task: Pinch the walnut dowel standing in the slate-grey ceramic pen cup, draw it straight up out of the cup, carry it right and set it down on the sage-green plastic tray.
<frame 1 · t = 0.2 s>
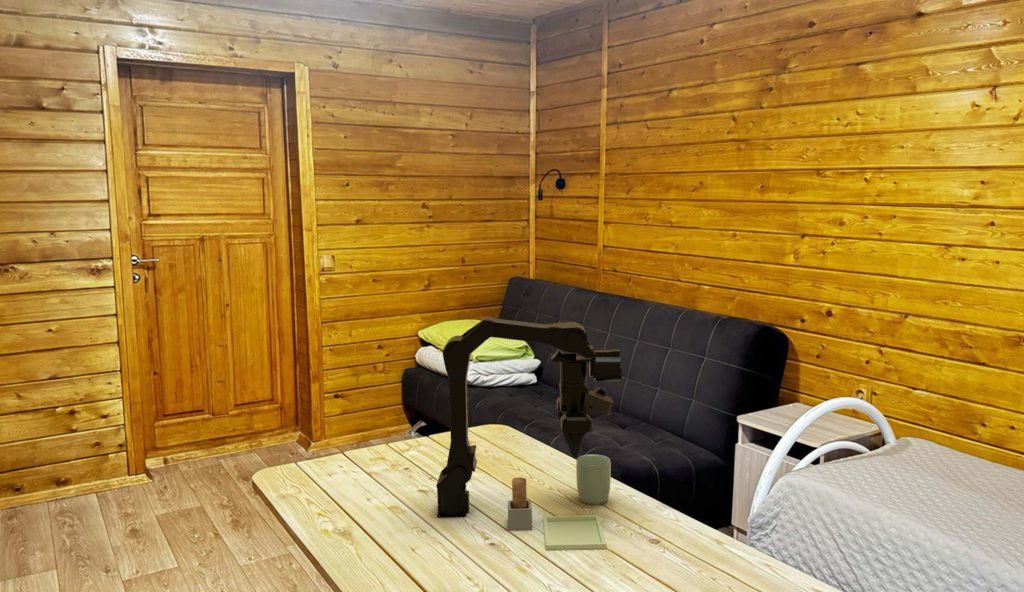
hand: (573, 450, 173), 14 cm above the table, fingers open, 9 cm apart
pen cup: (520, 527, 168), on the table
cup: (593, 502, 181), on the table
dowel: (520, 525, 168), resting on pen cup
tray: (573, 536, 163), on the table
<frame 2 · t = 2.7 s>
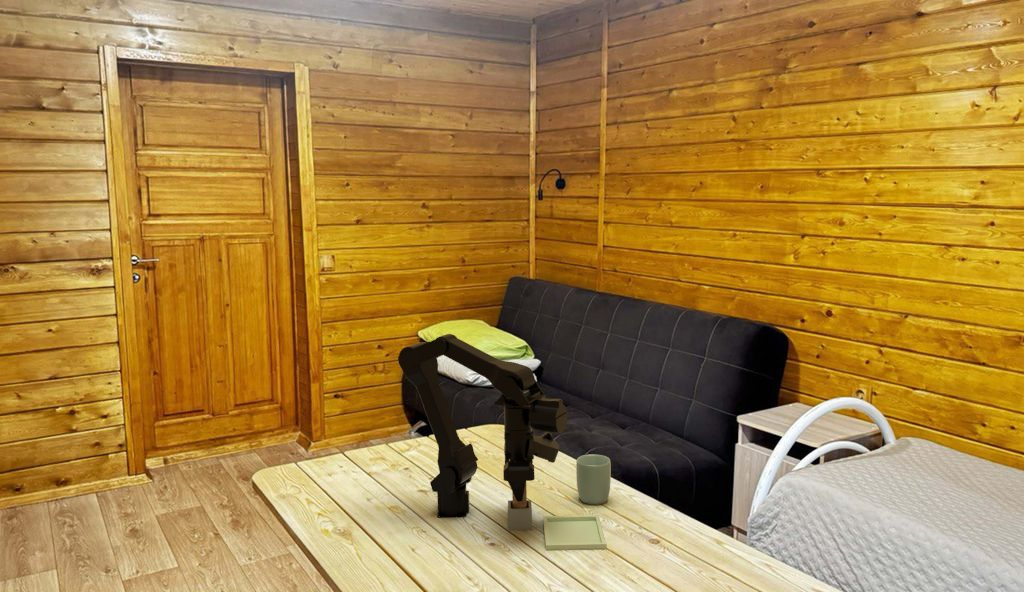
hand: (519, 498, 167), 7 cm above the table, fingers closed on dowel, 3 cm apart
dowel: (520, 525, 168), point 1 cm above the table, touching gripper, pen cup
everything else where it was.
when the fingers open (7 cm above the table, at t = 6.3 s): dowel stays where it is, resting on tray.
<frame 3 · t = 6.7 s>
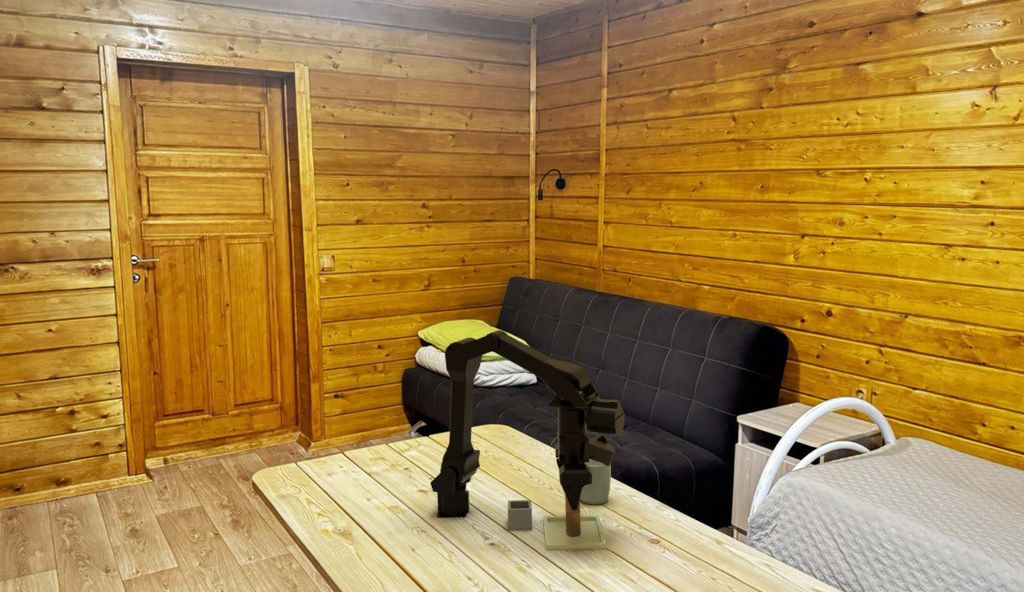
hand: (573, 502, 162), 7 cm above the table, fingers open, 7 cm apart
dowel: (573, 533, 163), point 1 cm above the table, touching tray
everything else where it was.
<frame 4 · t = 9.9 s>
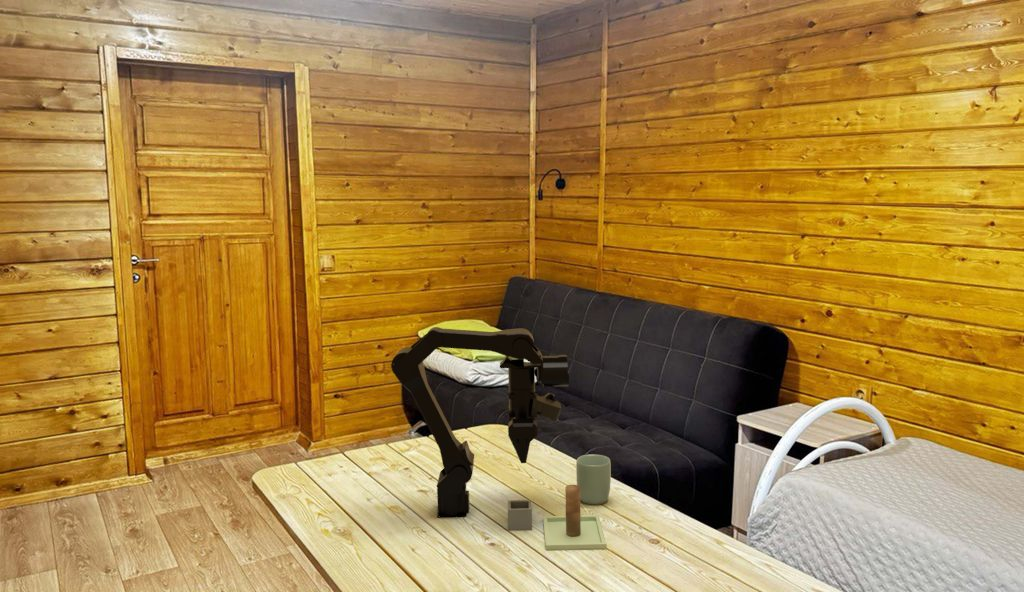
hand: (523, 455, 174), 13 cm above the table, fingers open, 9 cm apart
nothing on the table moved.
at the end: dowel inside the target area on the tray (0.0 cm from its centre), point 0.6 cm above the tray's base; the gripper is holding nothing; dowel touching tray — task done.
